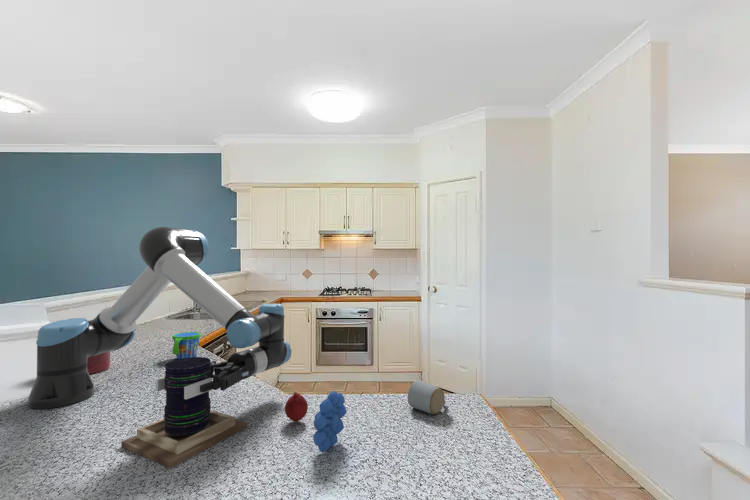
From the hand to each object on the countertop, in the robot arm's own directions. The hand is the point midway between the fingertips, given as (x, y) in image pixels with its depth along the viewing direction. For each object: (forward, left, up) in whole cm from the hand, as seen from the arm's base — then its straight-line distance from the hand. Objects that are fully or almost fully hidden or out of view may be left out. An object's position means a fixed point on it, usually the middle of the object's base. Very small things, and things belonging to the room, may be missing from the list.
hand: (170, 389), depth 83 cm
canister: (-80, +19, -13) cm, 83 cm away
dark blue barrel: (0, +4, -10) cm, 11 cm away
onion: (+18, +22, -13) cm, 31 cm away
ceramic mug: (+46, +46, -13) cm, 66 cm away
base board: (0, +4, -13) cm, 13 cm away
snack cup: (-63, +47, -13) cm, 80 cm away
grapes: (+32, +16, -13) cm, 38 cm away
